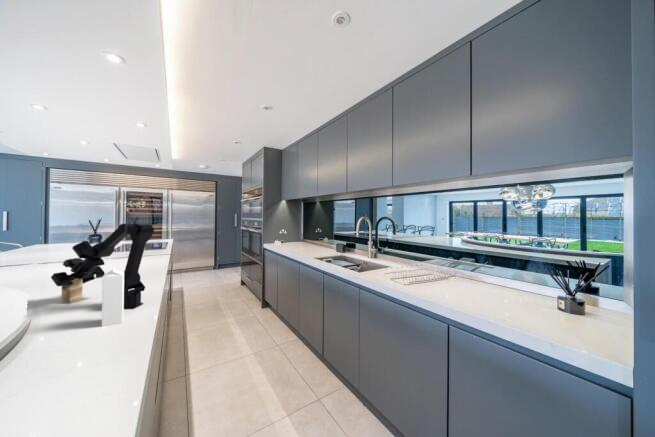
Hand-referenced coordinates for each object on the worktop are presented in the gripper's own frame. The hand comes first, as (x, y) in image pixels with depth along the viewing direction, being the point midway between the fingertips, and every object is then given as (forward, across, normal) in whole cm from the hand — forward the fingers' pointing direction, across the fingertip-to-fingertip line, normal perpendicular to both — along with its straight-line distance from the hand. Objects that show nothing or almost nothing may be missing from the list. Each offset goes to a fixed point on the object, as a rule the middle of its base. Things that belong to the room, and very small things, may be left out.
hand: (69, 286), depth 116 cm
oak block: (+4, 0, +6) cm, 7 cm away
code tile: (+4, 0, +6) cm, 7 cm away
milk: (-26, +15, +37) cm, 47 cm away
